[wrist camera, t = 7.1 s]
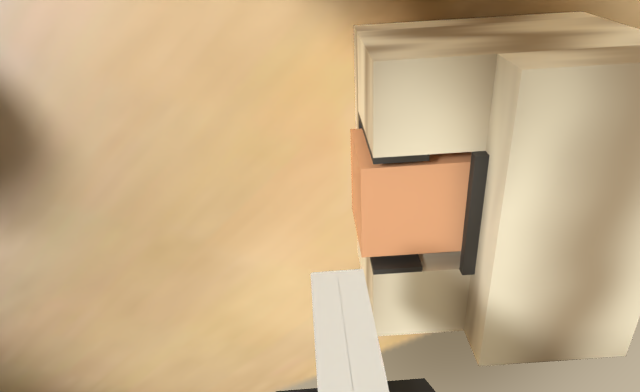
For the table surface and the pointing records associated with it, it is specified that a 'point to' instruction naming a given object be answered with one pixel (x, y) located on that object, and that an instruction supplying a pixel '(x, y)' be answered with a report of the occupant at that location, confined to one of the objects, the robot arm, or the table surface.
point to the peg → (408, 202)
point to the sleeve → (513, 179)
